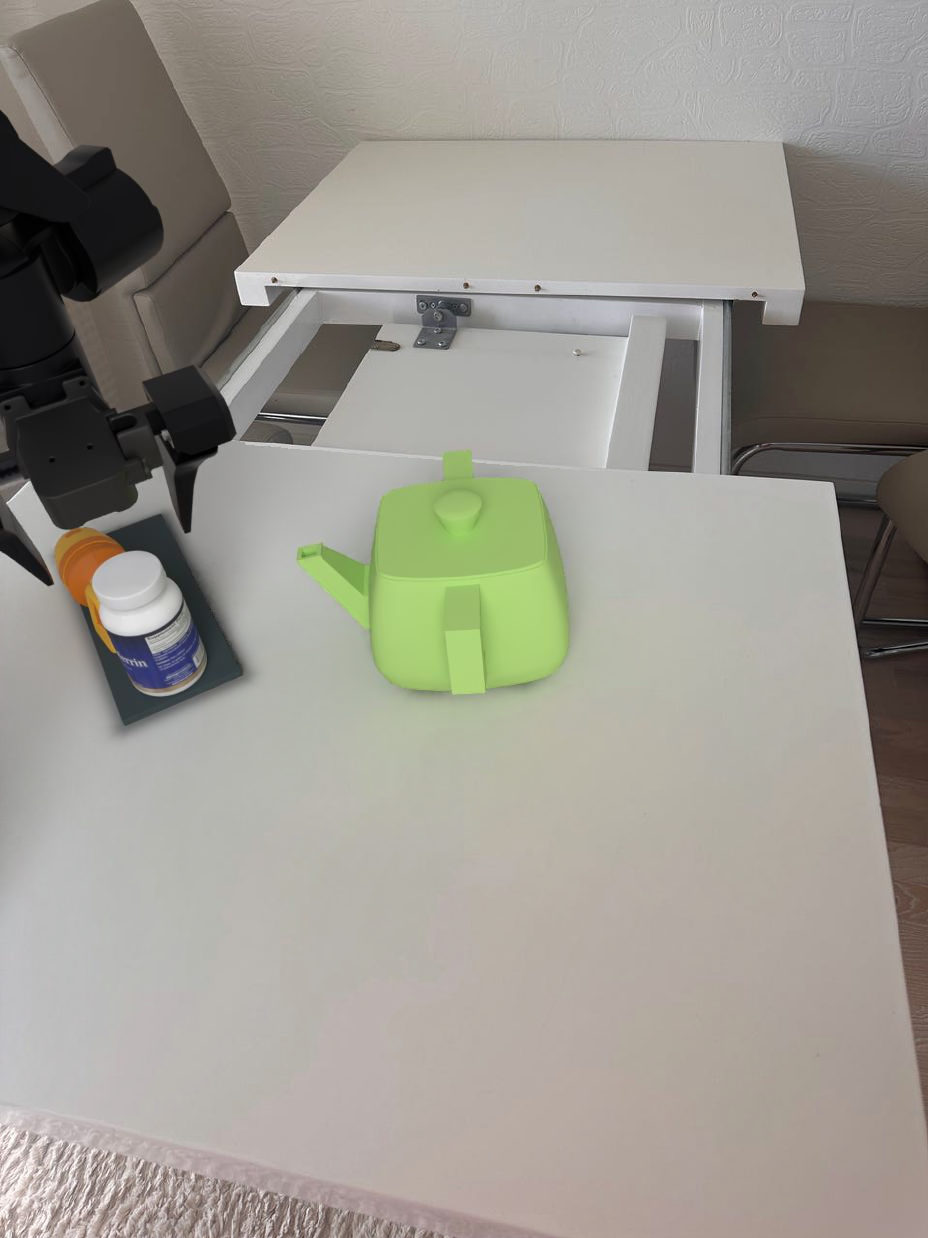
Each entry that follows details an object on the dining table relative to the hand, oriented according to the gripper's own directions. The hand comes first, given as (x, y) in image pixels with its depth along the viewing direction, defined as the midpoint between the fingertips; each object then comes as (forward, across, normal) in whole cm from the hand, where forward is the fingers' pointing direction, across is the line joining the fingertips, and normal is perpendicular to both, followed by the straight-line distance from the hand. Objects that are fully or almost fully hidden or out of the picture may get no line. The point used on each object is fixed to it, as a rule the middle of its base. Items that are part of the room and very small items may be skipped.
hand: (119, 555), depth 63 cm
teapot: (+12, +19, -8) cm, 24 cm away
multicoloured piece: (+12, -2, +10) cm, 15 cm away
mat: (+12, 0, +8) cm, 14 cm away
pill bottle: (+12, 0, 0) cm, 12 cm away
